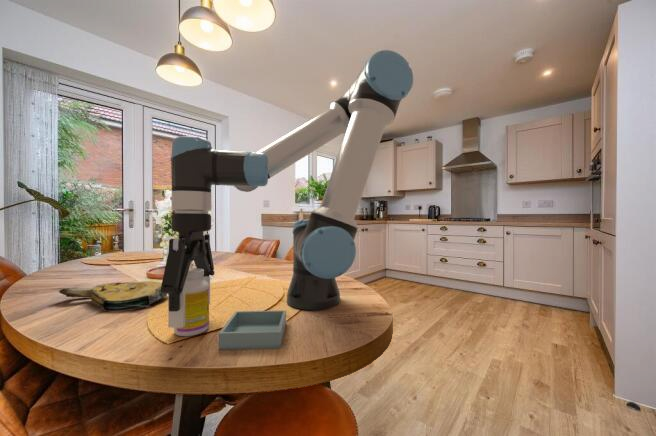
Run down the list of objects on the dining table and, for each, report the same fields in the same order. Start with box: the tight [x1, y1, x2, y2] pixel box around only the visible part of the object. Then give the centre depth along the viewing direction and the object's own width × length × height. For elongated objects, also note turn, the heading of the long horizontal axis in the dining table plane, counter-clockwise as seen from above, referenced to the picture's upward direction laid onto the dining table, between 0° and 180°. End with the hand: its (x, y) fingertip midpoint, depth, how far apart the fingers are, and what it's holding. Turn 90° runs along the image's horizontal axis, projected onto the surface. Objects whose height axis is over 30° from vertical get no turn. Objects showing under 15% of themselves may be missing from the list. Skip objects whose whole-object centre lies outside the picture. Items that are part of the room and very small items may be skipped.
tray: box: [218, 310, 287, 351], centre depth 55 cm, size 11×11×3 cm
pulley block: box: [57, 280, 168, 312], centre depth 75 cm, size 14×6×30 cm
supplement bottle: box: [173, 267, 210, 337], centre depth 57 cm, size 7×7×13 cm
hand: (191, 314), depth 57 cm, fingers open, 12 cm apart
